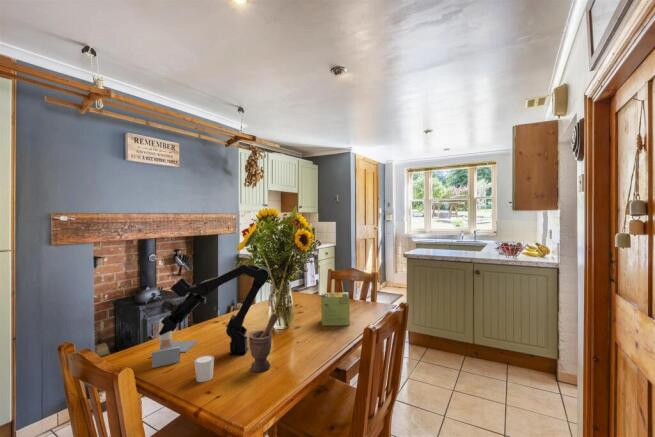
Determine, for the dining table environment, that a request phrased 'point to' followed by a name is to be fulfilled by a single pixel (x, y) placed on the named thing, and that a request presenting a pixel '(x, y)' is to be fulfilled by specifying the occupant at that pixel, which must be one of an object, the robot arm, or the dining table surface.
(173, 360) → the screen
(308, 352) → the dining table surface
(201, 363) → the shot glass
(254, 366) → the mortar and pestle
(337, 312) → the protein box
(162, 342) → the white rounded cylinder
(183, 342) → the slate mat
